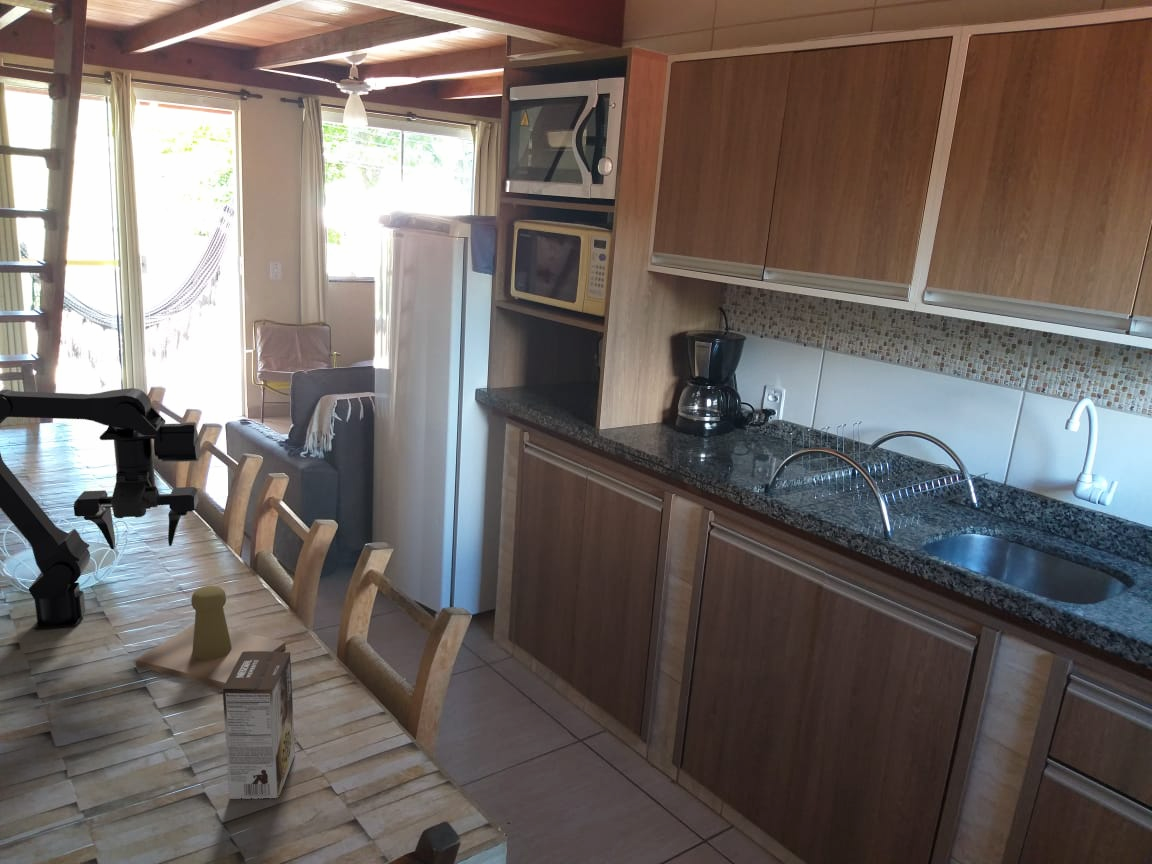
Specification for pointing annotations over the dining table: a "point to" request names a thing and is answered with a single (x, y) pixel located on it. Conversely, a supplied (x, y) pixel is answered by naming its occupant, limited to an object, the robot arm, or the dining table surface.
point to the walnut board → (181, 663)
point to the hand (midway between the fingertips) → (142, 546)
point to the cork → (210, 624)
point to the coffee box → (259, 724)
